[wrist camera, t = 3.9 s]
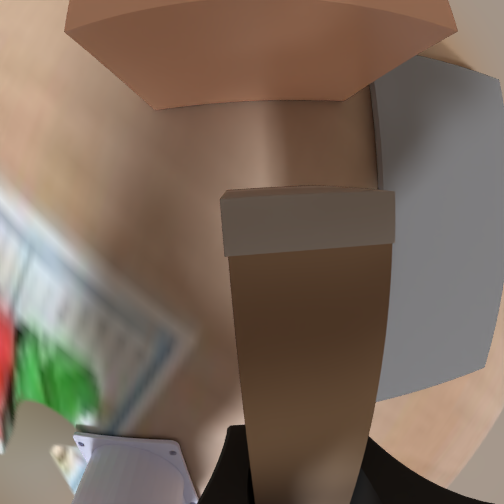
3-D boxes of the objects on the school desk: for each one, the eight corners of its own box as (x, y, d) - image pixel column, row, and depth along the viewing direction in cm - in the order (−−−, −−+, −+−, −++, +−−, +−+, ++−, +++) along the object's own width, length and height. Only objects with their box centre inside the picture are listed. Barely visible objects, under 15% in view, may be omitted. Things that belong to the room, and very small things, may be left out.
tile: (343, 101, 14) (458, 31, 5) (155, 110, 13) (64, 31, 4) (338, 62, 13) (436, -31, 4) (154, 70, 13) (77, -34, 4)
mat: (479, 363, 18) (484, 367, 17) (365, 398, 17) (368, 403, 17) (493, 81, 13) (499, 79, 13) (364, 50, 13) (368, 46, 12)
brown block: (307, 493, 12) (325, 568, 8) (256, 499, 12) (265, 577, 8) (314, 184, 9) (395, 190, 4) (227, 190, 9) (220, 199, 4)
